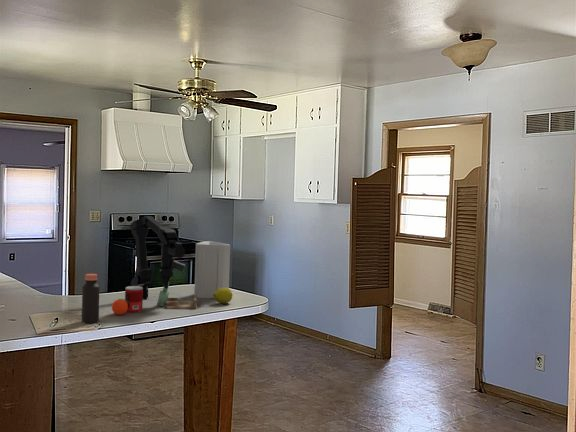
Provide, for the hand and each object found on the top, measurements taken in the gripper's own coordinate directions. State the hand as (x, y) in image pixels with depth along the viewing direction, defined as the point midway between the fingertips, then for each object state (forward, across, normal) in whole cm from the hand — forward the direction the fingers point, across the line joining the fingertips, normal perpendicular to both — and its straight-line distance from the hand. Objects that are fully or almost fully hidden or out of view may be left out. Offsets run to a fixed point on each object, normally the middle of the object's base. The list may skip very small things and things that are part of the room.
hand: (166, 287), depth 288 cm
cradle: (+9, 0, -7) cm, 11 cm away
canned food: (+9, -12, +14) cm, 21 cm away
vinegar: (+9, -33, +30) cm, 46 cm away
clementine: (+9, -19, +19) cm, 28 cm away
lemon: (+9, +6, -28) cm, 30 cm away
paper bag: (+9, +26, -21) cm, 34 cm away
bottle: (+8, 0, +2) cm, 9 cm away
